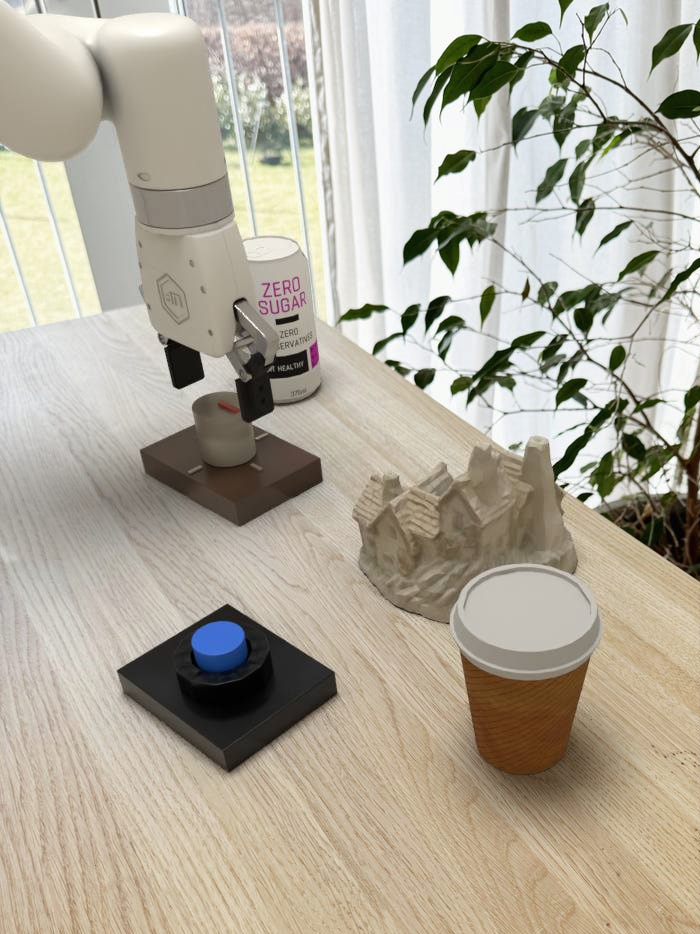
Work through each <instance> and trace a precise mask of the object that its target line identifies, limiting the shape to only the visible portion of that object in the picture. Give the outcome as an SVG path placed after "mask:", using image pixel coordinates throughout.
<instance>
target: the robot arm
mask: <svg viewBox="0 0 700 934" xmlns="http://www.w3.org/2000/svg"><path fill="white" fill-rule="evenodd" d="M212 77H213V76H212V72H211V67H210V60H209V54H208V48H207V44H206V40H205V35H204V34H203V31H202V29H201V27H200V26H199V25H198V24H197V22H196V21H194V20H193V19H191V18H190V17H188V16H186V15H183V14H181V13H175V12H139V13H131V14H125V15H120V16H117V17H114V18H104V17H103V18H100V17H85V16H76V15H75V16H74V15H65V14H56V13H31V14H26V15H22V14H21V13H19V12H18V11H17V10H16V9H15V8H14V7H12V6H11V5H10V3H8V2H7V1H6V0H0V145H2V146H4V147H6V148H7V149H9V150H11V151H12V152H14V153H17V154H18V155H20V156H23V157H25V158H28V159H30V160H34V161H37V162H44V163H60V162H67V161H68V160H72V159H74V158H76V157H78V156H79V155H81V154H82V153H84V152H85V151H86V150H87V149H89V147H90V146H91V144H92V143H93V142H94V140H95V138H96V136H97V134H98V131H99V128H100V125H101V122H103V121H107V122H110V123H111V124H112V125H113V126H114V128H115V131H116V135H117V140H118V144H119V149H120V152H121V157H122V161H123V165H124V170H125V173H126V177H127V183H128V187H129V191H130V195H131V199H132V203H133V208H134V213H135V215H134V234H135V246H136V247H135V248H136V255H137V262H138V269H139V274H140V280H141V284H140V285H139V286H138V291H139V293H140V296H141V297H142V300H143V302H144V304H145V306H146V310H147V315H148V318H149V322H150V324H151V327H152V328H153V329H154V331H155V332H157V340H158V342H159V343H160V344H161V345H162V346H164V347H163V350H164V354H165V359H166V363H167V368H168V372H169V377H170V380H171V385H172V387H173V388H174V389H176V390H179V391H180V390H182V389H184V388H187V387H189V386H191V385H193V384H195V383H197V382H200V381H202V380H204V378H205V377H206V376H205V375H206V374H205V370H204V366H203V361H202V356H201V354H203V355H206V356H208V357H211V358H213V359H219V358H223V357H225V356H226V358H227V359H228V361H229V362H230V364H231V366H232V367H233V369H234V371H235V372H236V374H237V376H238V378H236V379H234V384H235V389H236V393H237V395H238V400H239V406H240V411H241V416H242V420H243V421H245V422H247V423H251V422H252V423H253V422H255V421H257V420H259V419H261V418H263V417H265V416H267V415H269V414H271V413H273V412H274V411H275V403H274V401H273V395H272V389H271V383H270V377H269V371H271V370H272V368H273V367H272V365H273V364H274V363H275V361H276V360H277V356H276V353H277V348H278V344H279V336H278V334H277V333H276V331H275V330H274V329H273V328H272V327H271V326H270V325H269V324H268V323H267V322H266V321H265V320H264V319H263V318H262V317H261V316H260V315H259V308H258V303H257V297H256V292H255V288H254V283H253V279H252V275H251V271H250V266H249V263H248V259H247V255H246V252H245V248H244V245H243V242H242V239H243V238H242V235H241V233H240V230H239V229H240V228H239V227H238V223H237V221H236V220H234V219H235V217H236V211H235V206H234V201H233V196H232V188H231V184H230V177H229V172H228V167H227V160H226V155H225V149H224V142H223V137H222V131H221V124H220V119H219V114H218V108H217V101H216V96H215V90H214V84H213V79H212ZM236 336H237V337H239V338H241V339H240V340H238V341H237V340H236V341H235V339H236ZM247 347H248V349H249V351H250V352H251V354H252V356H251V358H250V359H249V360H248V362H247V363H245V361H244V359H243V358H242V356H241V354H240V353H239V351H240V350H242V349H245V348H247Z"/></svg>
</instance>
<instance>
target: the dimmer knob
mask: <svg viewBox="0 0 700 934" xmlns="http://www.w3.org/2000/svg"><path fill="white" fill-rule="evenodd" d="M191 411H192V416H193V421H194V424H195V426H196V431H197V436H198V441H199V446H200V450H201V455H202V459H203V460H204V461H205V462H206V463H208V464H210V465H212V466H217V467H232V466H237V465H241V464H243V463H246V462H247V461H249V460H251V459H252V458H253V457H254V456H255V454H256V444H255V438H254V432H253V426H252V425H253V422H251V423H247V422H245V421H243V420H242V416H241V411H240V406H239V400H238V395H237V391H228V390H227V391H226V390H225V391H224V390H223V391H214V392H210V393H207V394H204V395H202V396H200V397H198V398H196V399H195V400H194V401H193V403H192V404H191Z"/></svg>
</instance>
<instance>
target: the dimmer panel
mask: <svg viewBox="0 0 700 934" xmlns="http://www.w3.org/2000/svg"><path fill="white" fill-rule="evenodd" d="M252 426H253V432H254V438H255V444H256V454H255V456H254V457H253V458H252V459H251V460H249V461H247V462H246V463H243V464H241V465H237V466H232V467H217V466H212V465H210V464H208V463H206V462H205V461H204V460H203V459H202V455H201V450H200V446H199V441H198V436H197V431H196V426H195V423H194V424H192V425H190V426H188V427H185V428H183V429H181V430H179V431H177V432H175V433H173V434H171V435H169V436H165V437H163V438H162V439H160V440H157V441H155V442H152V443H151V444H148V445H147V446H145V447H142V448H141V449H139V454H140V458H141V462H142V465H143V469H144V473H146V474H147V475H149V476H151V477H152V478H154V479H156V480H158V481H159V482H161V483H163V484H165V485H166V486H168V487H170V488H172V489H173V490H175V491H176V492H178V493H180V494H182V495H183V496H185V497H186V498H187V497H188V498H189V499H190V500H192V501H194V502H195V503H198V504H199V505H201V506H204V507H205V508H206V509H207V510H210V511H212V512H213V513H215V514H217V515H218V516H221V517H222V518H223V519H225V520H227V521H229V522H231V523H232V524H233V525H236V526H238V527H243V526H244V525H246V524H248V523H249V522H251V521H253V520H255V519H257V518H258V517H260V516H262V515H264V514H265V513H268V512H269V511H271V510H273V509H275V508H276V507H278V506H280V505H282V504H283V503H285V502H288V501H290V500H291V499H293V498H295V497H296V496H298V495H301V494H302V493H303V492H306V491H307V490H309V489H311V488H313V487H315V486H316V485H318V484H320V483H321V482H323V481H324V476H323V469H322V460H321V457H319V456H318V455H315V454H313V453H311V452H310V451H307V450H305V449H303V448H301V447H299V446H297V445H295V444H293V443H291V442H289V441H287V440H285V439H283V438H281V437H279V436H277V435H275V434H273V433H271V432H268V431H267V430H265V429H262V428H260V427H258V426H256V425H255V424H252Z"/></svg>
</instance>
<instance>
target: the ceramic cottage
mask: <svg viewBox="0 0 700 934" xmlns="http://www.w3.org/2000/svg"><path fill="white" fill-rule="evenodd" d="M550 447H551V446H550V440H549V439H548V438H546V437H543V436H540V435H532V436H530V437H529V439H528V440H527V442H526V444H525V448H524V451H523V452H524V453H523V456H522V455H519V454H518V453H514V452H510V451H506V450H504V449H502V448H499V447H497V446H495V445H492V444H491V443H489V442H487V441H481V440H479V441H476V443H475V444H474V446H473V449H472V451H471V454H470V457H469V460H468V464H467V471H465V472H464V473H462V474H459V475H457V476H456V477H455V478H454V477H453V476H452V474H451V473H450V472H449V471H448V464H447V463H445V462H444V461H440V462H438V464H437V465H436V466H435V467H434V468H432V469H431V470H430V472H429V473H428V474H427V475H425V476H424V477H423V478H422V479H421V480H420V481H418V482H416V483H415V484H413V486H412V487H411V486H406V485H402V483H401V481H400V475H399V474H397V473H396V472H394V471H392V470H390V469H389V470H385V471H384V474H383V475H381V473H379V472H374V473H370V478H369V479H368V480H367V482H366V483H365V488H364V489H363V491H362V492H361V494H360V495H359V496H358V499H357V501H356V503H355V505H354V506H353V508H352V513H351V518H352V519H353V520H354V521H355V522H356V523H357V524H358V529H359V534H360V539H361V543H362V545H361V547H360V548H359V558H358V565H359V568H360V570H362V573H363V574H365V575H366V577H367V578H368V580H369V582H371V584H373V585H374V586H375V587H376V588H377V590H379V593H380V594H381V595H382V596H383V598H384V599H385V600H388V601H389V603H391V604H392V605H394V606H396V607H399V608H401V609H403V610H405V611H408V612H409V613H412V612H413V613H415V614H417V615H419V614H420V615H421V616H422V617H423V619H424V618H427V619H429V620H433V621H436V622H439V623H442V624H444V623H450V614H451V612H452V609H453V607H454V605H455V603H456V602H457V601H458V599H459V596H460V594H461V591H462V589H463V588H464V587H465V586H466V585H467V584H468V583H469V581H470V580H472V579H473V578H475V577H476V576H478V575H479V574H481V573H483V572H485V571H488V570H490V569H493V568H496V567H500V566H504V565H511V564H527V563H529V564H539V565H545V566H550V567H553V568H556V569H559V570H561V571H564V572H567V573H569V574H571V575H573V573H574V572H575V571H576V568H577V564H578V562H579V560H578V556H577V552H576V546H575V543H574V540H573V538H572V534H571V531H570V530H569V529H568V528H567V527H566V526H565V524H564V519H563V516H564V514H565V511H564V509H563V508H562V501H563V499H564V498H565V496H566V495H567V494H568V493H567V492H566V491H564V489H562V488H560V486H559V483H557V482H555V473H554V468H553V464H552V460H551V459H552V458H551V448H550Z"/></svg>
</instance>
